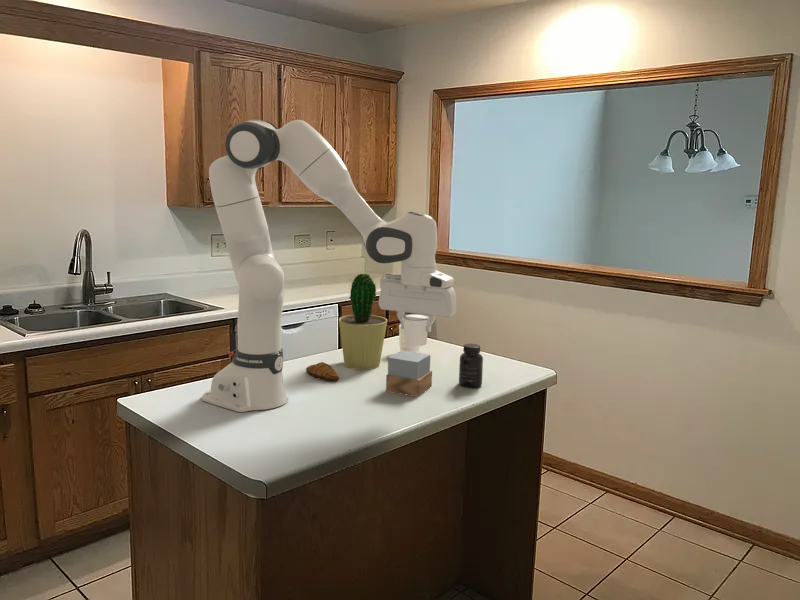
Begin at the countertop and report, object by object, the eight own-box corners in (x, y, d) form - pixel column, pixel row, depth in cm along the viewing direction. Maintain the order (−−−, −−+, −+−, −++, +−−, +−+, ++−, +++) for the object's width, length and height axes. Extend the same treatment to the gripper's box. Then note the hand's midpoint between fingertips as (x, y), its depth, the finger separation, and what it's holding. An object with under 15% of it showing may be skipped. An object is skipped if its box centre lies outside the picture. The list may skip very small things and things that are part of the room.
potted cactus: (372, 374, 199) (374, 277, 194) (328, 366, 206) (330, 272, 200) (394, 362, 213) (397, 271, 207) (353, 355, 219) (355, 267, 214)
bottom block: (385, 392, 184) (386, 375, 183) (399, 382, 193) (400, 366, 192) (418, 397, 180) (419, 380, 179) (431, 387, 189) (432, 371, 188)
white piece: (426, 347, 165) (427, 321, 163) (400, 345, 166) (400, 319, 164) (430, 340, 171) (431, 314, 170) (405, 338, 172) (405, 312, 171)
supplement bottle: (459, 380, 196) (461, 341, 194) (482, 382, 195) (484, 343, 193) (457, 387, 190) (459, 347, 187) (480, 389, 188) (483, 349, 186)
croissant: (298, 375, 197) (298, 359, 196) (315, 370, 202) (315, 355, 201) (328, 385, 188) (328, 369, 187) (345, 381, 193) (346, 364, 192)
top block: (387, 374, 184) (388, 357, 183) (401, 366, 192) (402, 350, 191) (417, 379, 180) (417, 362, 179) (429, 371, 188) (430, 354, 187)
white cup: (413, 358, 218) (414, 329, 216) (393, 354, 222) (394, 326, 220) (425, 353, 224) (426, 325, 223) (406, 350, 229) (407, 322, 227)
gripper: (375, 274, 166) (373, 327, 169) (452, 282, 159) (449, 337, 161) (385, 271, 172) (383, 323, 174) (459, 278, 164) (456, 332, 167)
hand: (415, 330), depth 168 cm, fingers closed on white piece, 5 cm apart
